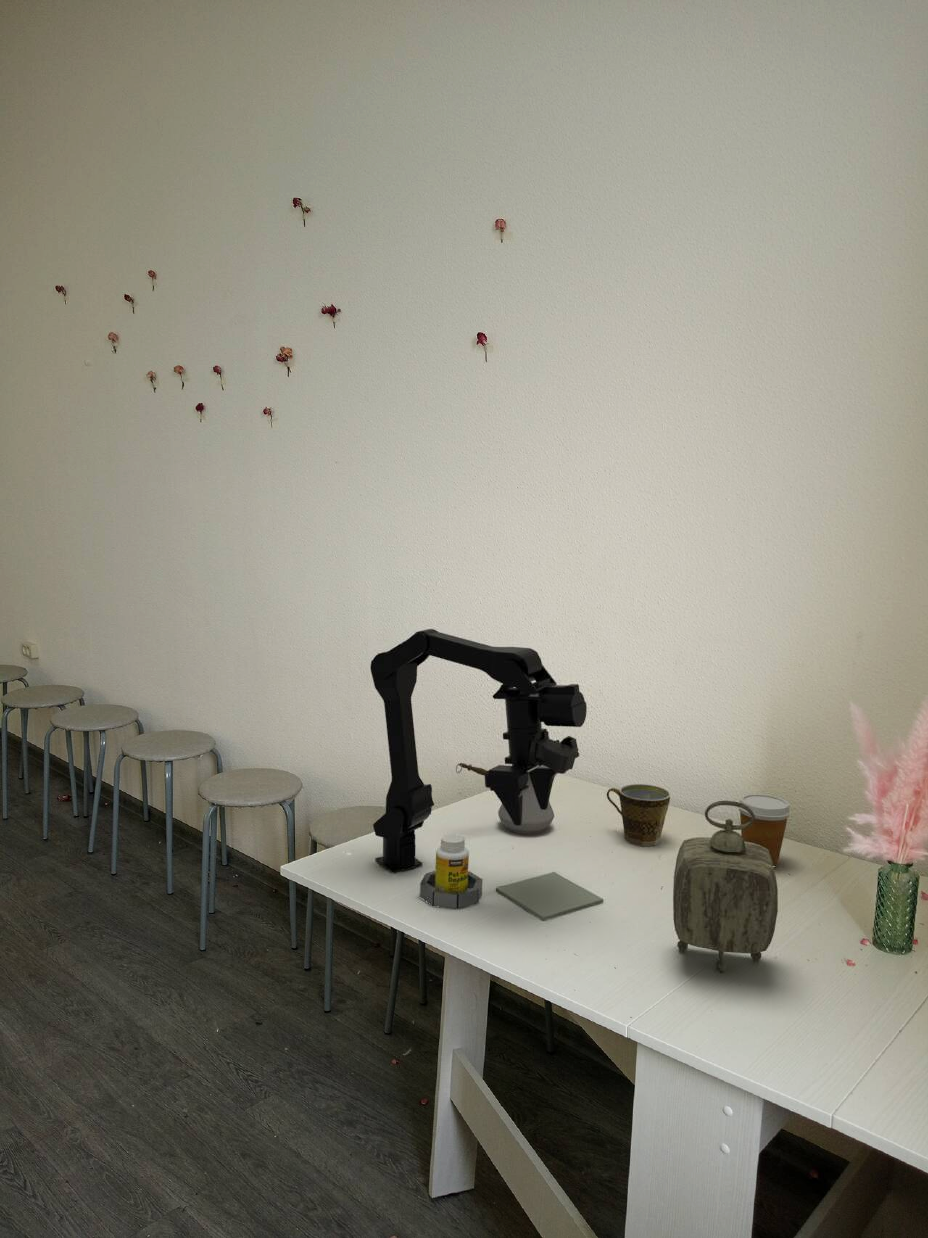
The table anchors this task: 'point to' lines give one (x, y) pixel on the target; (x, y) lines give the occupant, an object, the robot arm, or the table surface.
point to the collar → (451, 898)
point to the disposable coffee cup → (765, 822)
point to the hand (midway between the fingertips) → (531, 817)
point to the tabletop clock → (725, 892)
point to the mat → (549, 895)
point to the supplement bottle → (452, 864)
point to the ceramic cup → (642, 812)
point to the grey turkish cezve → (523, 809)
